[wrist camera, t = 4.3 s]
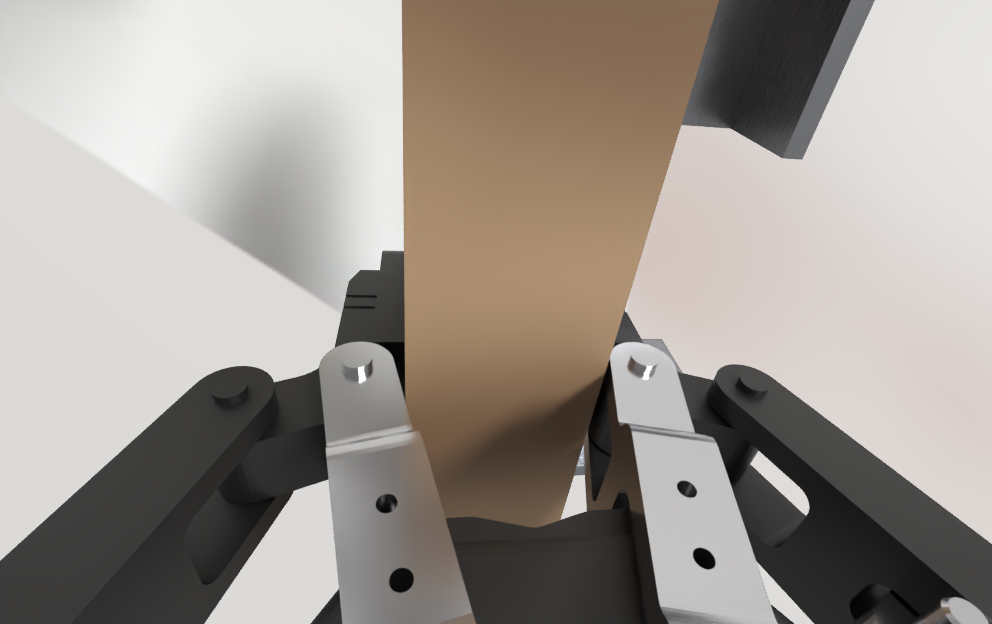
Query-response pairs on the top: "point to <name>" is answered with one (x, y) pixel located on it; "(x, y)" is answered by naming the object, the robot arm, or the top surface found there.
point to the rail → (528, 225)
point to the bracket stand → (771, 75)
